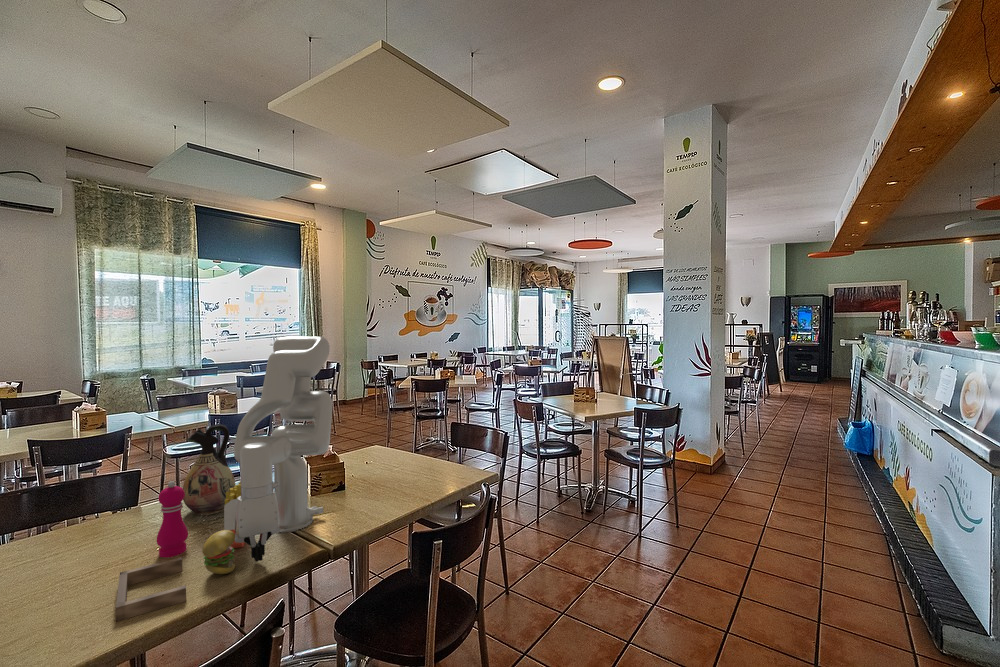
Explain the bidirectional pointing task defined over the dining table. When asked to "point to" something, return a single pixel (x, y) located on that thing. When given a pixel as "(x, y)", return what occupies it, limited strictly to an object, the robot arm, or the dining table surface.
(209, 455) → the ceramic jug
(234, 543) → the french fries container
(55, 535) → the dining table surface
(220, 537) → the hamburger
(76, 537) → the dining table surface
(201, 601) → the dining table surface
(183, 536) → the pepper mill
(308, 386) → the robot arm
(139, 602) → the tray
